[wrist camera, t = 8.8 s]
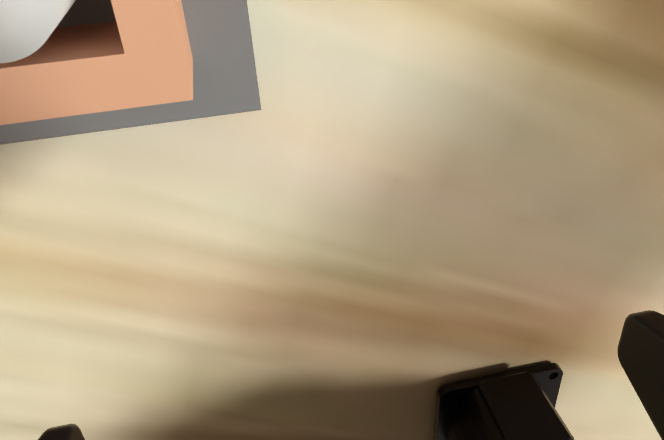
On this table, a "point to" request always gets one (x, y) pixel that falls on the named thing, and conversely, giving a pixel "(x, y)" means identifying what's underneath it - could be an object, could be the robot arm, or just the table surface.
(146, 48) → the ring
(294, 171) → the table surface
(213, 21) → the post plate
